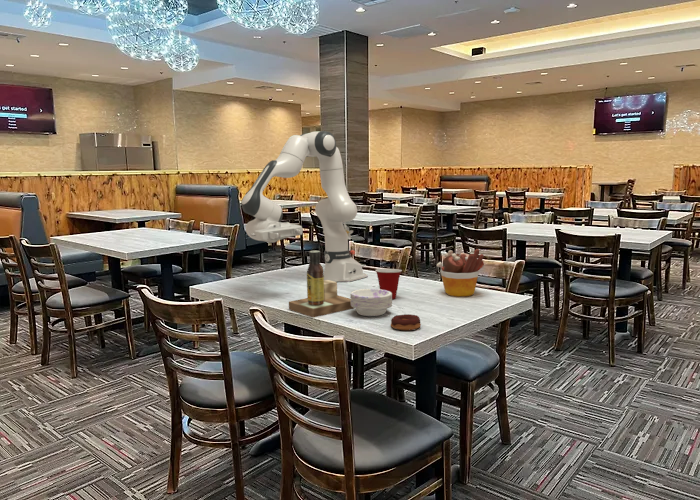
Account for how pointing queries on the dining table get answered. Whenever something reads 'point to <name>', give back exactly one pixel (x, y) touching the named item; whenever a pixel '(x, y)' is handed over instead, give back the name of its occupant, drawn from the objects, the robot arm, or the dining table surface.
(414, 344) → the dining table surface
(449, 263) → the bucket of meat
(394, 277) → the plastic cup
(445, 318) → the dining table surface
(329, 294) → the birch cube
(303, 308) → the walnut board
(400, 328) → the donut
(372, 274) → the dining table surface
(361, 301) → the paper bowls
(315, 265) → the sauce bottle
